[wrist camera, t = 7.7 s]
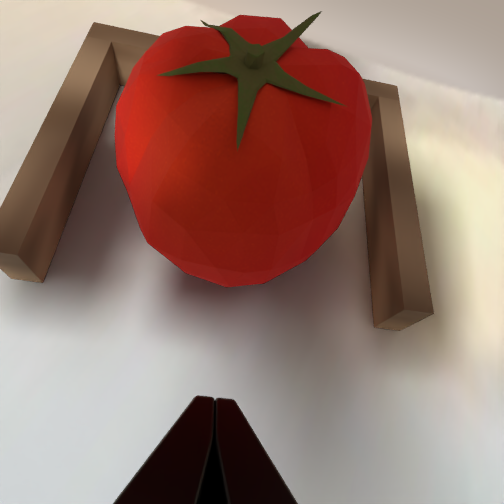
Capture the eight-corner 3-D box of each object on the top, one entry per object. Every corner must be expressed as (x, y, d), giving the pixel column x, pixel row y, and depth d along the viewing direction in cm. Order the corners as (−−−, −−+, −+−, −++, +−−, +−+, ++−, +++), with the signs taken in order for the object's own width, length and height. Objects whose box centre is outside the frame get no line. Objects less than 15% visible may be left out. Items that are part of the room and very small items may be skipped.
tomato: (323, 152, 20) (403, -11, 13) (327, 331, 15) (457, 236, 8) (156, 121, 19) (138, -75, 12) (105, 303, 14) (21, 164, 7)
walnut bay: (399, 330, 16) (433, 313, 14) (11, 278, 14) (-21, 249, 12) (376, 120, 22) (397, 86, 20) (103, 66, 20) (93, 21, 18)
